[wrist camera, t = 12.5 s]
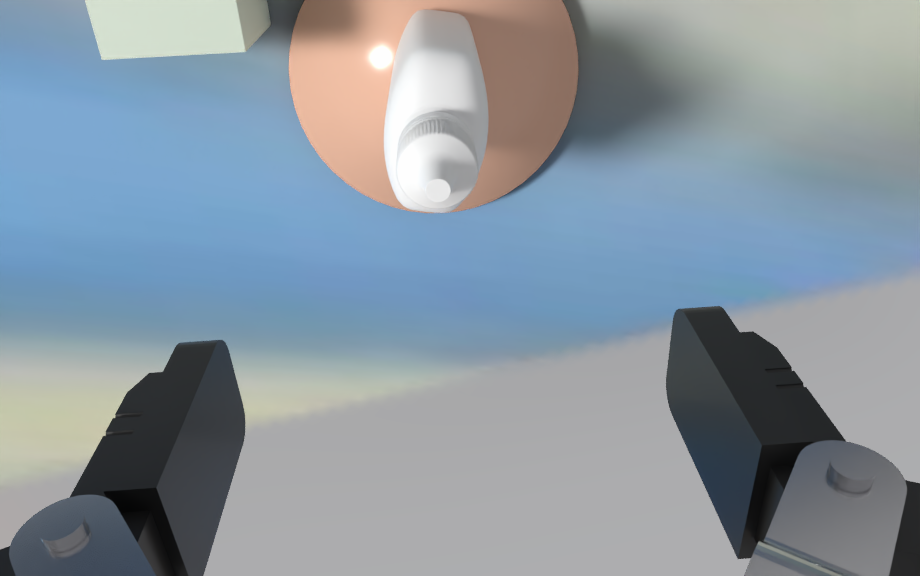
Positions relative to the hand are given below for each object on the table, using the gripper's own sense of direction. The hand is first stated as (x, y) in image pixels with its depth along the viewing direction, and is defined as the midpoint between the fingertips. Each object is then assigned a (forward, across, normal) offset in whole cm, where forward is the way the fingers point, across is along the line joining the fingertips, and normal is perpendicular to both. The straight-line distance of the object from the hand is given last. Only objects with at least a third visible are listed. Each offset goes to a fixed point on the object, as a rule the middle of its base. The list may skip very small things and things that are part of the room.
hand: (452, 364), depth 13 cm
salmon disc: (+21, 0, 0) cm, 21 cm away
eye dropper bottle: (+20, 0, 0) cm, 20 cm away
